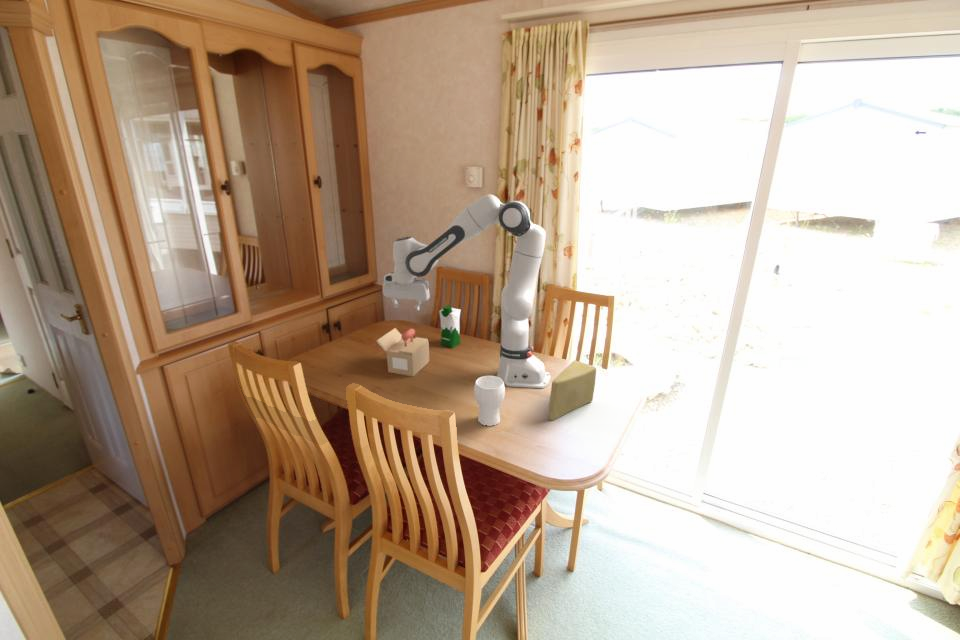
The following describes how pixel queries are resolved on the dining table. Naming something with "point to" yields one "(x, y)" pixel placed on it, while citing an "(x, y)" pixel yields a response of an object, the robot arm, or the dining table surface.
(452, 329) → the milk carton
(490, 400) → the cup
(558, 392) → the cheese
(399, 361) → the carton
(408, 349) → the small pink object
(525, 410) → the dining table surface
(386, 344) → the open flap
